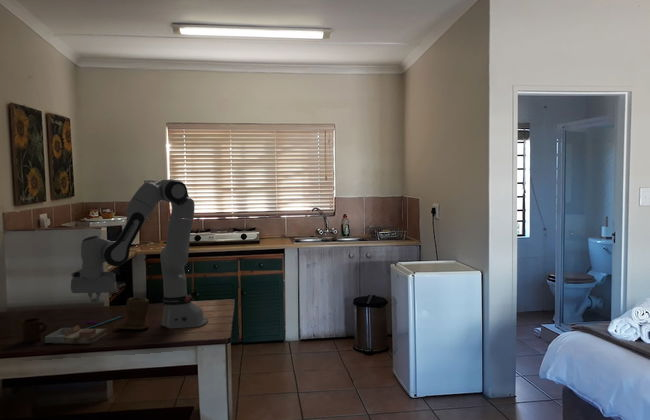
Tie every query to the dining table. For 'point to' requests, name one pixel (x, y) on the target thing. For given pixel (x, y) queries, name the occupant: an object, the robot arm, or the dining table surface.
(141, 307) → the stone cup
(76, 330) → the tile
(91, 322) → the squeegee
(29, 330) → the mug
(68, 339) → the board
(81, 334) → the tile
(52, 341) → the tray
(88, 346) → the dining table surface
